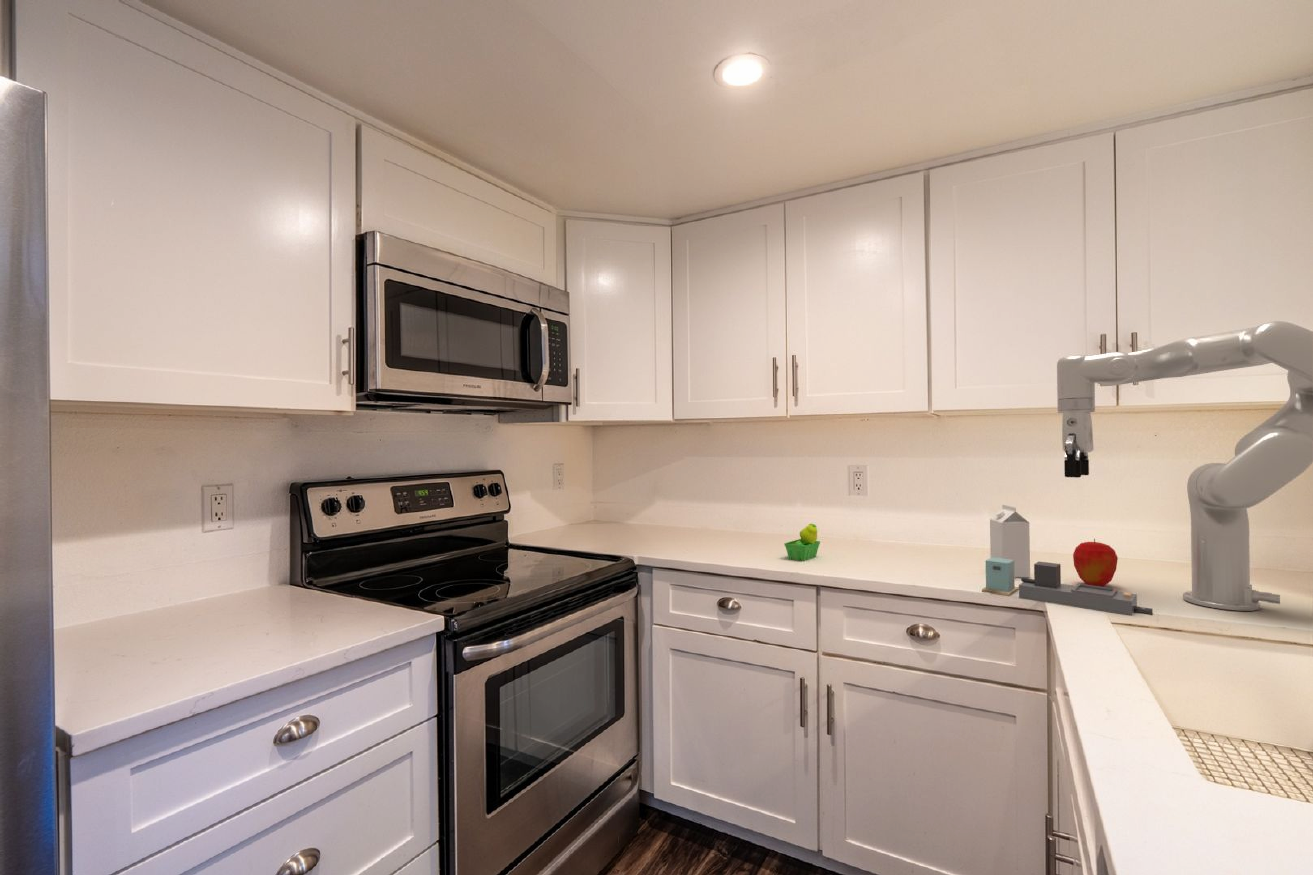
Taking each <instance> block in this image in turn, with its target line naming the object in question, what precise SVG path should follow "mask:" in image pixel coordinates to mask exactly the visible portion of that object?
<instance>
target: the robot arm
mask: <svg viewBox="0 0 1313 875" xmlns="http://www.w3.org/2000/svg"><path fill="white" fill-rule="evenodd" d="M1268 364H1269V365H1270V364H1274V365H1276V366H1278V367H1280V368H1283V369H1284V370H1286V371H1287V374H1286V376H1287V382H1288V386H1289V398H1288V400H1287V402H1285V403H1284V405H1283V406H1282V407H1281V408H1280V409H1279V410H1277V411H1276V412H1275V413H1274V414H1272V415H1271V416H1270V417H1268V419H1266V420H1265V421H1263V422H1262V423H1261V424H1259V425H1258V426H1257V427H1256V428H1254V429H1253V430H1251V431H1250V432H1248V433H1247V434H1245V435H1244V436H1243V437H1242V438H1241V439H1239V441H1238V442H1237V443H1236V445H1235V447H1234V457H1233V458H1232V459H1230V460H1229V461H1227V462H1225V463H1222V462H1212V463H1206V464H1203V465H1200V466H1199V467H1197V468H1196V469H1194V470H1193V471H1192V472H1191V474H1190V475H1189V477H1188V478H1187V479H1188V480H1187V483H1186V490H1187V497H1188V498H1187V499H1188V504H1189V512H1190V541H1191V542H1190V546H1191V547H1190V551H1191V552H1190V556H1191V558H1190V559H1191V560H1190V561H1191V590H1190V591H1186V592H1183V593H1182V598H1183V599H1184V601H1186V602H1189V603H1191V604H1194V605H1199V606H1203V607H1207V608H1213V609H1220V610H1227V611H1240V612H1243V611H1244V612H1248V611H1249V612H1253V611H1258V610H1260V609H1261V602H1265V603H1269V604H1279V605H1280V604H1281V595H1280V594H1277V593H1276V594H1275V593H1272V592H1266V591H1259V590H1256V589H1253V584H1251V568H1250V567H1251V566H1250V561H1251V560H1250V556H1251V555H1250V520H1249V514H1248V513H1249V512H1248V509H1250V508H1252V507H1255V506H1257V505H1258V504H1260V503H1262V502H1264V501H1265V500H1267V499H1268V498H1269V497H1271V496H1272V495H1274V494H1275V493H1276V492H1278V491H1279V490H1281V489H1282V488H1283V487H1285V486H1287V485H1288V484H1290V482H1292V481H1293V480H1295V479H1296V478H1298V477H1299V476H1300V475H1302V474H1303V473H1304V472H1305V471H1307V469H1308V468H1310V466H1311V465H1312V464H1313V331H1312V330H1310V329H1308V328H1305V327H1303V326H1301V325H1297V324H1295V323H1291V322H1288V321H1283V320H1281V321H1279V320H1278V321H1277V320H1276V321H1275V320H1273V321H1268V322H1265V323H1262V324H1260V325H1256V326H1252V327H1249V328H1243V329H1242V328H1241V329H1236V330H1231V331H1226V332H1220V333H1219V332H1218V333H1215V334H1208V335H1201V336H1195V337H1188V338H1184V339H1180V340H1177V341H1174V342H1170V343H1168V344H1164V345H1161V346H1157V347H1154V348H1149V349H1144V350H1139V351H1133V352H1129V353H1128V352H1124V351H1112V352H1111V351H1110V352H1107V353H1101V354H1094V355H1081V354H1080V355H1070V356H1064V357H1062V358H1060V359H1058V361H1057V362H1056V384H1057V386H1056V390H1057V393H1056V396H1057V399H1056V400H1057V414H1062V419H1061V421H1062V422H1061V424H1062V425H1061V426H1062V428H1061V434H1062V435H1061V438H1062V440H1061V441H1062V451H1063V452H1065V453H1064V461H1063V462H1064V464H1063V465H1064V467H1063V468H1064V470H1063V471H1064V477H1065V478H1081V477H1082V476H1089V475H1090V463H1089V462H1090V459H1089V453H1091V452H1093V451H1094V437H1093V436H1094V435H1093V434H1094V433H1093V421H1092V420H1093V419H1092V414H1091V413H1095V412H1096V400H1095V399H1096V393H1095V392H1096V391H1095V390H1096V389H1095V387H1096V386H1095V384H1098V385H1100V386H1103V387H1113V386H1119V385H1120V386H1121V385H1125V384H1127V385H1128V384H1135V383H1140V382H1149V381H1154V380H1160V379H1161V380H1162V379H1170V378H1174V379H1175V378H1183V377H1189V376H1196V375H1203V374H1210V373H1215V372H1223V371H1229V370H1236V369H1244V368H1250V367H1258V366H1259V367H1260V366H1264V365H1268Z"/></svg>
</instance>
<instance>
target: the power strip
mask: <svg viewBox="0 0 1313 875" xmlns="http://www.w3.org/2000/svg"><path fill="white" fill-rule="evenodd" d="M1033 565H1034V566H1033V569H1034V570H1033V576H1034V579H1033V578H1030V577H1020V580H1021V583H1020V584H1019V585H1018V587H1019V590H1018V598H1020V599H1025V600H1032V601H1038V602H1045V603H1051V604H1055V605H1056V604H1057V605H1061V606H1062V605H1063V606H1070V607H1076V608H1082V609H1090V610H1095V611H1101V612H1108V613H1115V614H1121V615H1127V616H1133V615H1134V613H1142V614H1147V615H1153V613H1154V611H1153V608H1151V607H1146V606H1145V607H1144V606H1140V605H1139V606H1138V605H1137V603H1138V602H1137V601H1138V598H1137V596H1138V594H1137V593H1134V592H1133V593H1131V592H1124V591H1119V590H1118V588H1114V587H1113V588H1112V587H1105V586H1102V587H1099V586H1092V585H1087V584H1085V583H1084V584H1083V583H1077V584H1076V585H1075V584H1067V583H1061V582H1062V581H1061V579H1062V578H1061V576H1062V574H1061V573H1062V572H1061V570H1062V569H1061V568H1062V566H1061V563H1054V562H1045V561H1038V562H1036V563H1034V564H1033Z"/></svg>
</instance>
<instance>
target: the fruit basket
mask: <svg viewBox="0 0 1313 875" xmlns="http://www.w3.org/2000/svg"><path fill="white" fill-rule="evenodd" d="M799 537H800V538H798V539H795V540H792V541H788V542H784V544H783V545H784V547H785V550H786V553H787V556H788V559H789V560H793V561H801V562H805V561H808V560H810V559H813V558H815V557H817V555H818V551H819V547H820V544H821V541H820V540H819V541H818V528H817V524H815V523H809V524H808V525H807V526H805V527H804V528H802V529H801V530H800V532H799Z"/></svg>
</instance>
